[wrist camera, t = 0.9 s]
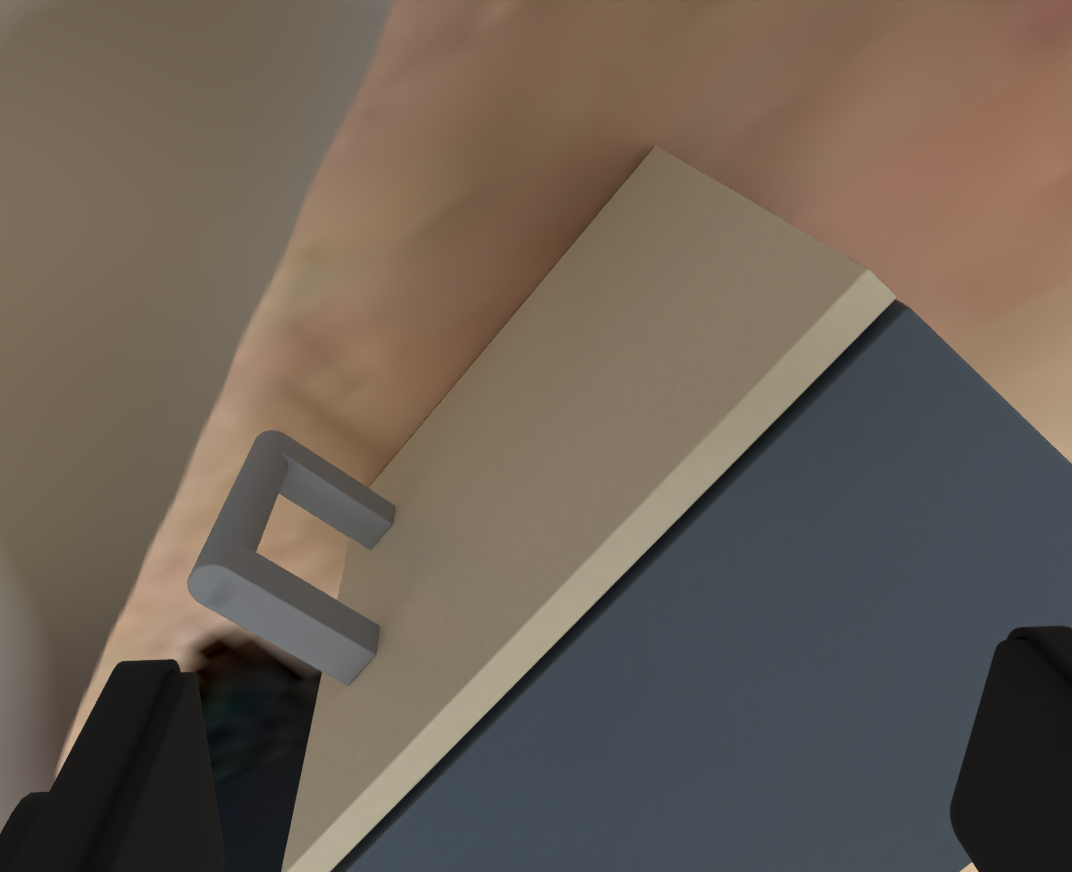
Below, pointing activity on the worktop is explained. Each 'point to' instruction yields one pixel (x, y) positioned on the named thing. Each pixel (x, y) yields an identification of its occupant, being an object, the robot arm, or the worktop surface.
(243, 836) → the worktop surface
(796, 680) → the cupboard
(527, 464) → the cupboard door
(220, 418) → the worktop surface
